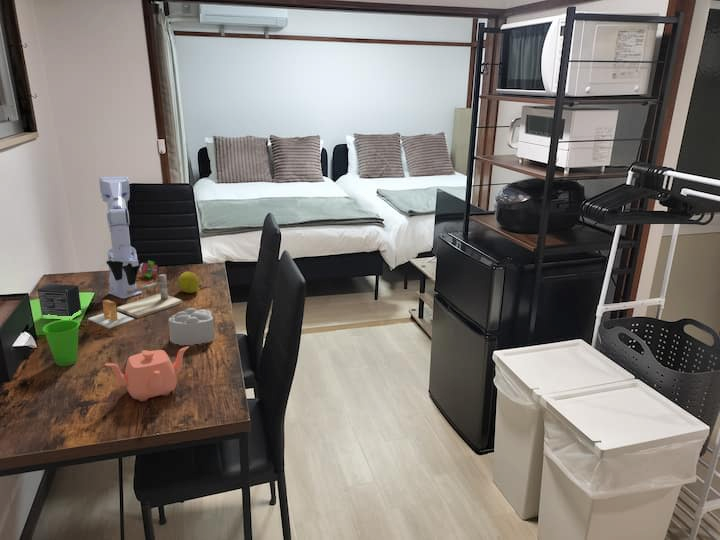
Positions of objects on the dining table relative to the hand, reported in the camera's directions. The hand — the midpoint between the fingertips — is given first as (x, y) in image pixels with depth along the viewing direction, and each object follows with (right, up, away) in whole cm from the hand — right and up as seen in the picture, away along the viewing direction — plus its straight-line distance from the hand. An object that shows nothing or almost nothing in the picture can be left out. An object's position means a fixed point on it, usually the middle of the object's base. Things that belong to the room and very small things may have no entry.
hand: (125, 282), depth 180 cm
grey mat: (-2, -12, -6) cm, 14 cm away
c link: (-2, -12, -6) cm, 14 cm away
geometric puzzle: (-6, +1, +36) cm, 37 cm away
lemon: (+15, -4, +21) cm, 26 cm away
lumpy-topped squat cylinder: (+29, -17, -17) cm, 37 cm away
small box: (-19, -12, -5) cm, 23 cm away
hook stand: (+6, -9, +6) cm, 12 cm away
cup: (-1, -22, -34) cm, 40 cm away
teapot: (+29, -27, -48) cm, 62 cm away
